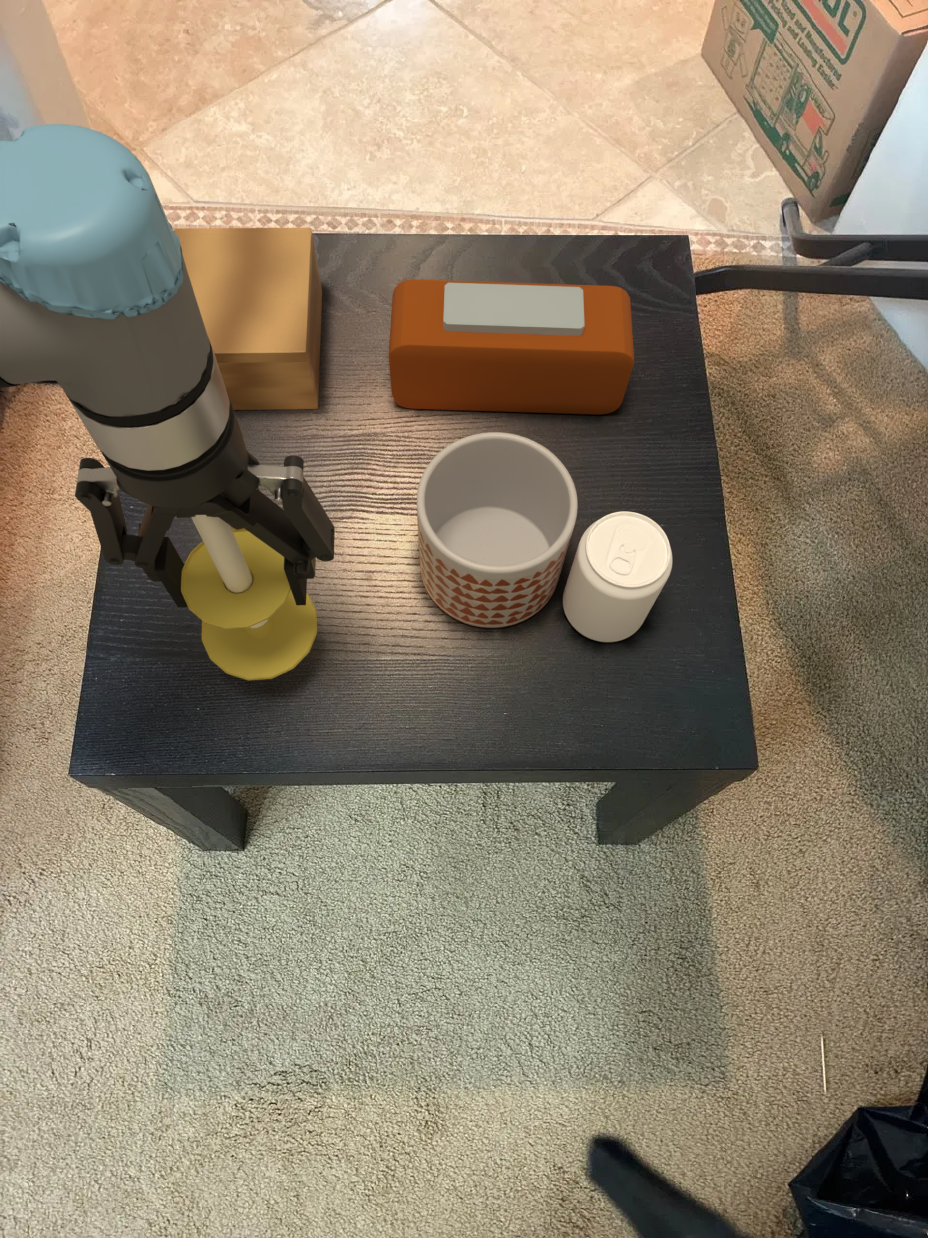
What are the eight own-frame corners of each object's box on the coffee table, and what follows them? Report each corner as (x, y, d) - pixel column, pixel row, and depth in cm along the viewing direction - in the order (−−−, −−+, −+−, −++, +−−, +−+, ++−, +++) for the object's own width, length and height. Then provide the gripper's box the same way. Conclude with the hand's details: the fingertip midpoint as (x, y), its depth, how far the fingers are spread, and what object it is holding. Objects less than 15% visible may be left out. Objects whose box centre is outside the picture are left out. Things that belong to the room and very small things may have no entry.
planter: (494, 658, 81) (503, 603, 70) (390, 567, 85) (382, 500, 73) (588, 562, 86) (611, 496, 74) (485, 480, 89) (491, 403, 77)
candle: (243, 555, 78) (157, 354, 53) (340, 605, 76) (297, 422, 51) (177, 646, 74) (51, 476, 49) (277, 701, 73) (198, 554, 48)
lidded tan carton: (184, 410, 91) (158, 353, 83) (196, 292, 97) (173, 227, 89) (318, 409, 92) (305, 351, 84) (322, 291, 98) (311, 227, 90)
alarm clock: (615, 353, 96) (636, 275, 85) (618, 416, 92) (641, 344, 82) (396, 346, 95) (391, 267, 85) (392, 409, 92) (386, 335, 82)
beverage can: (657, 587, 85) (689, 528, 74) (627, 658, 82) (657, 607, 71) (580, 555, 86) (601, 492, 75) (548, 624, 83) (565, 568, 72)
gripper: (358, 361, 50) (378, 546, 70) (-24, 362, 49) (111, 549, 69) (356, 474, 47) (378, 632, 68) (-50, 478, 46) (100, 637, 66)
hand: (243, 590), depth 68 cm, fingers closed on candle, 8 cm apart
